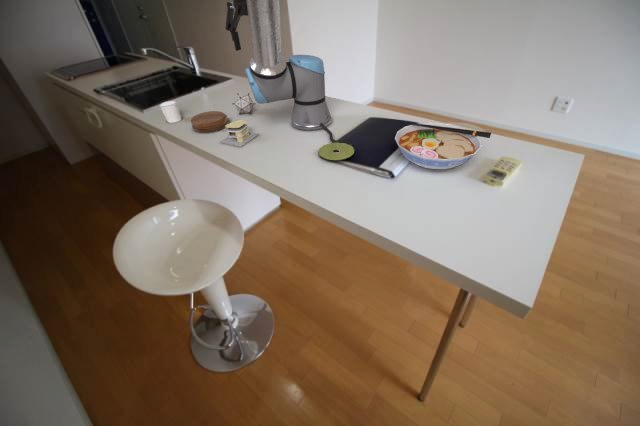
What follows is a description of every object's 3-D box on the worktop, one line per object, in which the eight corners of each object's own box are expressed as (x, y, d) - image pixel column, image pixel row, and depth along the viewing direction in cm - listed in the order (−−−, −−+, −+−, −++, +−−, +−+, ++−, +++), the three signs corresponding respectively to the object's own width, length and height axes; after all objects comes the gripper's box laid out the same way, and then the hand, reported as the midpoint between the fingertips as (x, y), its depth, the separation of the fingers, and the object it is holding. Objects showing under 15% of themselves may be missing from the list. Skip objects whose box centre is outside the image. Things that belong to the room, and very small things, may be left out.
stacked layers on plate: (239, 131, 109) (235, 117, 106) (258, 135, 106) (254, 120, 102) (221, 142, 103) (216, 128, 99) (240, 146, 99) (236, 131, 96)
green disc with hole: (352, 166, 86) (352, 160, 84) (315, 164, 87) (315, 159, 86) (355, 148, 94) (355, 142, 93) (321, 147, 96) (321, 141, 94)
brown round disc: (233, 127, 113) (230, 118, 111) (197, 136, 108) (193, 127, 106) (223, 115, 123) (221, 107, 120) (190, 123, 118) (187, 115, 115)
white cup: (186, 117, 123) (180, 101, 119) (174, 124, 119) (167, 107, 114) (174, 116, 126) (168, 99, 121) (162, 122, 121) (155, 105, 116)
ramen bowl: (376, 170, 83) (379, 144, 78) (403, 138, 97) (406, 114, 92) (469, 193, 72) (479, 165, 67) (484, 153, 87) (493, 127, 81)
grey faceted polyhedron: (248, 123, 124) (239, 110, 115) (235, 112, 126) (225, 99, 117) (262, 108, 125) (254, 93, 115) (248, 98, 127) (239, 83, 117)
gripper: (274, -18, 103) (282, 49, 116) (220, -14, 112) (233, 48, 125) (262, -17, 98) (272, 53, 111) (206, -13, 107) (222, 51, 120)
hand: (251, 50), depth 118 cm, fingers open, 13 cm apart
